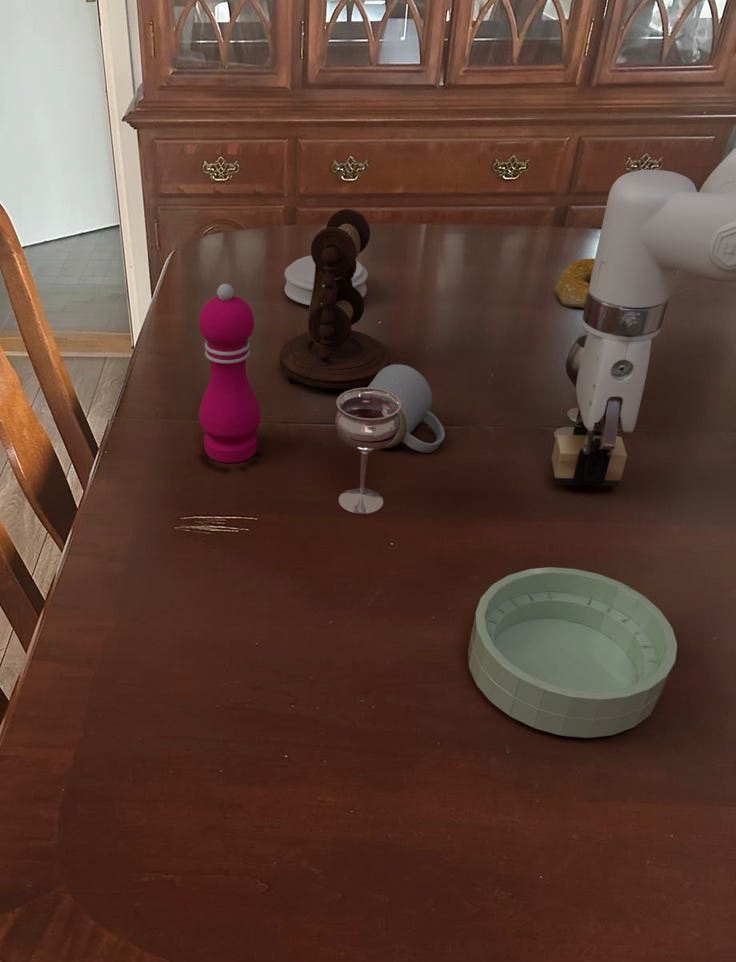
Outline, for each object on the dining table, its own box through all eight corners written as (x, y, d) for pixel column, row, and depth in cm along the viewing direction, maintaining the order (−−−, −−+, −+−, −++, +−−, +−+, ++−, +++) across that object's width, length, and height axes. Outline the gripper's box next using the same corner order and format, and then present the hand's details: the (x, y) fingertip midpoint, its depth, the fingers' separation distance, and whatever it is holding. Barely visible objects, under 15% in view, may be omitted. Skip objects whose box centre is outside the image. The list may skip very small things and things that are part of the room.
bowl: (640, 619, 88) (656, 574, 84) (675, 752, 76) (696, 707, 72) (463, 605, 90) (472, 561, 86) (470, 734, 78) (480, 689, 74)
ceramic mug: (345, 444, 111) (350, 386, 106) (371, 413, 117) (377, 356, 111) (429, 466, 108) (438, 408, 103) (451, 434, 113) (461, 376, 108)
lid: (304, 274, 150) (305, 242, 146) (377, 287, 145) (380, 255, 142) (270, 304, 141) (270, 271, 138) (347, 318, 137) (349, 285, 134)
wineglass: (320, 491, 104) (325, 394, 96) (374, 478, 106) (383, 382, 98) (346, 524, 100) (353, 425, 91) (402, 510, 101) (413, 412, 93)
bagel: (538, 299, 142) (545, 268, 138) (579, 279, 147) (586, 249, 144) (595, 319, 136) (603, 287, 133) (635, 298, 142) (644, 267, 138)
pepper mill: (195, 463, 109) (185, 296, 95) (206, 432, 114) (197, 269, 100) (256, 467, 108) (254, 299, 94) (264, 435, 113) (263, 272, 100)
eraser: (613, 467, 105) (621, 436, 102) (618, 487, 102) (627, 455, 99) (549, 464, 106) (556, 434, 103) (553, 484, 103) (560, 452, 100)
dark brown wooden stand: (298, 341, 132) (301, 192, 118) (399, 356, 128) (415, 205, 115) (264, 388, 122) (264, 232, 108) (373, 406, 118) (387, 247, 104)
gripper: (681, 350, 84) (632, 515, 97) (648, 278, 97) (608, 433, 109) (596, 348, 85) (558, 512, 98) (574, 277, 97) (543, 431, 110)
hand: (585, 469), depth 103 cm, fingers closed on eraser, 4 cm apart
